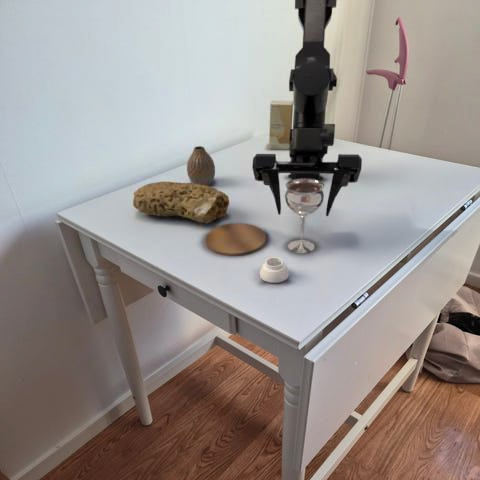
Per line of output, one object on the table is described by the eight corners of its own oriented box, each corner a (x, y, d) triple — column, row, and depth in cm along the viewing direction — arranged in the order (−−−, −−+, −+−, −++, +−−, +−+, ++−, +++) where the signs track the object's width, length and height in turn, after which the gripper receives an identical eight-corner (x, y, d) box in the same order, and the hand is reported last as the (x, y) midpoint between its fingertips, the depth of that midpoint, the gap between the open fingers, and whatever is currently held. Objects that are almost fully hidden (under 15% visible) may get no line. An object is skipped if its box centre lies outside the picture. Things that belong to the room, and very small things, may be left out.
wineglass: (278, 252, 79) (279, 190, 71) (289, 235, 84) (291, 175, 76) (314, 258, 77) (319, 195, 69) (323, 240, 82) (329, 180, 74)
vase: (217, 178, 109) (215, 142, 103) (214, 188, 103) (211, 152, 98) (191, 178, 109) (187, 143, 104) (186, 189, 104) (181, 152, 98)
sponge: (233, 216, 94) (165, 182, 100) (234, 187, 88) (161, 152, 94) (196, 250, 88) (126, 211, 94) (194, 222, 81) (119, 182, 88)
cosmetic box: (268, 149, 124) (268, 103, 116) (270, 144, 127) (270, 100, 120) (290, 149, 123) (292, 103, 115) (291, 145, 126) (293, 100, 119)
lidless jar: (273, 265, 76) (253, 277, 73) (273, 251, 74) (253, 262, 71) (294, 275, 73) (275, 288, 70) (295, 261, 71) (275, 273, 68)
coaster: (247, 220, 90) (247, 218, 89) (277, 244, 81) (277, 242, 81) (195, 235, 86) (195, 233, 85) (222, 262, 77) (222, 259, 77)
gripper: (252, 104, 69) (245, 196, 68) (369, 103, 67) (364, 198, 65) (258, 139, 80) (252, 218, 79) (359, 139, 78) (354, 221, 76)
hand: (303, 214), depth 75 cm, fingers open, 8 cm apart
